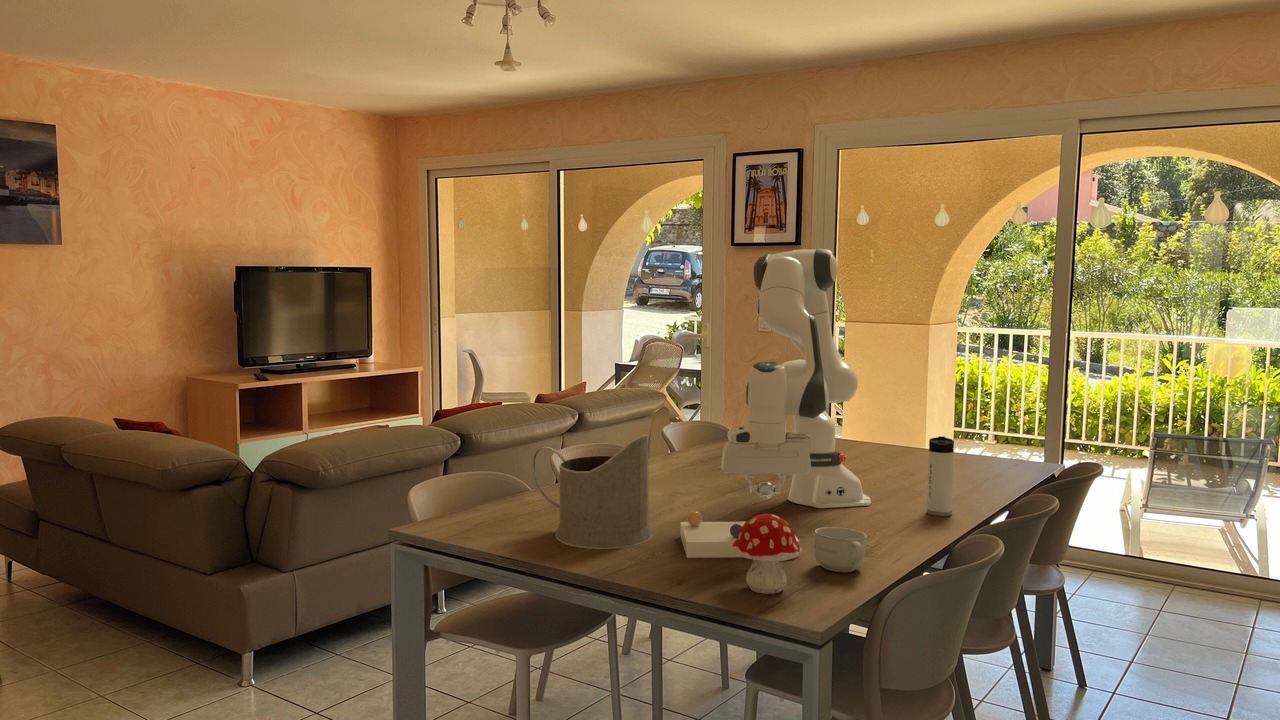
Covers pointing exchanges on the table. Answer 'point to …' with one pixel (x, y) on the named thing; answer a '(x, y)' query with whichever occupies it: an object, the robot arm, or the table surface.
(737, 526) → the black rubber ball
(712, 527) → the white slab
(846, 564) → the teacup
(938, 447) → the travel mug
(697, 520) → the terracotta ball
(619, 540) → the pitcher
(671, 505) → the table surface
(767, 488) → the steel ball
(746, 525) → the decorative mushroom
